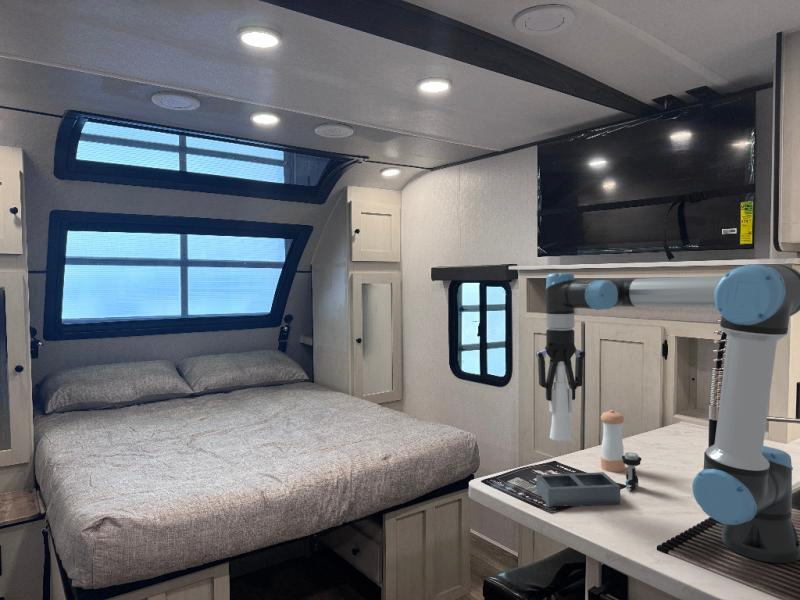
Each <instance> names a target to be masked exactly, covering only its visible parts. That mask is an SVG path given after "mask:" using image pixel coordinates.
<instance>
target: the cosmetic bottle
mask: <svg viewBox="0 0 800 600" xmlns="http://www.w3.org/2000/svg"><path fill="white" fill-rule="evenodd" d="M566 380H567V375H566V369H565V364H564V362H563V361H561V362H558V365H557V367H556V372H555V377H554V382H553V387H552V388H553V389H554V390H555V413H552V412H551V425H550V432H549V439H550V440H552V441H554V442H555V441H556V442H569V441H572V439H573V436H572V432H571V423H570V413H569V407H568V388H567V387H568V381H566Z"/></svg>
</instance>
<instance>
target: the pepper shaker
mask: <svg viewBox="0 0 800 600" xmlns="http://www.w3.org/2000/svg"><path fill="white" fill-rule="evenodd" d="M600 419H601V422H602V424H603V431H602V432H603V436H602V441H601V455H600V468H601V469H602V470H603V471H606V472H611V473H621V472H624V471H625V470H626V468H625V467H626V466H625V465H626V464H624V463H623V459H622V456H623V455H624V443H623V437H622V424H623V422H624V421H625V417H624V416H623V414H622V413H620V412H617V411H615V410H614V409H610V410H609V411H605V412H602V414H601V416H600Z"/></svg>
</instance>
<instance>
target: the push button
mask: <svg viewBox="0 0 800 600" xmlns="http://www.w3.org/2000/svg"><path fill="white" fill-rule="evenodd" d="M622 459H623V463H624V464H625V465H626V466H627V472H626V474H625V479H626V481H625V487H626V491H634V490H635V489H636V490H637V489H638V488H639V477H638V475H637V472H636V467H637V466H640V465H641V462H642V458H641V457H640V456H639V454H638V453H635V452H625V453H624V454H623V456H622Z"/></svg>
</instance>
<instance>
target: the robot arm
mask: <svg viewBox="0 0 800 600" xmlns="http://www.w3.org/2000/svg"><path fill="white" fill-rule="evenodd" d="M545 281H546V283H545V284H546V285H545V302H546V303H545V304H546V313H545V314H546V323H545V325H546V326H545V327H546V328H547V329H546V330H545V331H546V332H545V333H546V335H545V336H546V337H545V338H546V339H545V340H546V341H545V342H546V343H545V344H546V345H545V347H544V349H543V350H541V351H539V350H537V351H535V355H536V358H537V366H538V384H539V385H538V386H540V387H542V388H543V389H545V399H546V401H548V404H549V405H548V407H549V408H548V411H549V412H550V413H551V414H552V413H555V390H554V389H553V386H554V381H555V372H556V367H557V365H558V362H561V361H563V362H564V364H565V369H566V380H567V388H568V407H569V414H570V413H571V414H572V413H573V401H575V400H576V390H577V389H578V387H582V386H583V373H584V371H583V370H584V368H583V367H584V358H585V356H586V352H585V351H584V350H581V349H577V347H576V346H575V330H574V327H575V309H589V310H595V311H599V310H603V311H604V310H610V309H612V308H618V307H621V308H622V307H623V308H625V307H626V308H627V307H628V308H629V307H632V308H633V307H634V308H635V307H639V308H641V307H643V308H644V307H646V308H647V307H648V308H649V307H651V308H711V309H713V308H715V309H716V310H717V311H718V312H719V314H720V325H719V327H720V329H721V330H722V331H723V332H724V333H725V334H726V337H727V340H726V345H725V353H724V354H725V355H724V361H723V362H724V364H723V371H722V380H721V389H720V396H719V397H720V398H719V403H718V404H719V406H718V411H717V412H718V413H717V421H716V429H715V430H716V431H715V437H714V438H715V439H714V444H713V445H710V446H709V447H707V448H706V449H705V453H704V462H703V470H701V471H699V472H697V474H696V476H695V477H694V479H693V481H692V487H691V488H692V494H693V497H694V500H695V501H696V503H697V505H699V507H700V508H701V509H702V511H703V512H704V513H705V514H706V515H707V516H708V517H710V518H711V519H713V520H715V521H716V522H718V523H720V524H724V525H723V526H722V529H721V541H722V542H723V544H724V545H725V546H726V548H728V549H730V550H731V551H733V552H734V553H737V554H739V555H741V556H744V557H747V558H749V559H752V560H755V561H759V562H760V561H761V562H766V563H773V564H789V563H795V562H797V561H798V560H800V539H799V536H798V533H797V530H796V527H795V525H794V522H793V519H792V518H793V516H792V512H793V511H792V510H793V509H792V508H793V507H792V505H793V504H792V501H793V500H792V499H793V498H792V497H793V496H792V495H793V494H792V492H793V490H792V489H793V488H792V487H793V486H792V485H793V483H792V482H793V469H794V468H793V466H792V458H791V455H790V454H789V453H788V452H786V451H783V450H782V449H779V448H775V447H772V446H765V445H764V441H765V436H766V429H767V428H766V427H767V420H768V412H769V406H770V398H771V390H772V383H773V382H772V381H773V374H774V366H775V360H776V359H775V358H776V352H777V351H776V350H777V343H778V342H779V341H780V340H782V339H783V338H785V337H786V336H787V335H788V333H789V332H788V330H789V325H790V317H792V316H794V315H796V314H797V313H799V312H800V271H798V270H797V269H795V268H793V267H791V266H789V265H784V264H760V263H757V264H756V263H755V264H746V265H743V266H738V267H735V268H734V269H731V270H729V271H728V272H727V273H725V274H724V275H710V276H709V275H705V276H704V275H703V276H677V277H651V278H649V277H647V278H646V277H645V278H620V279H594V280H593V279H591V280H589V279H588V280H577V279H575V275H574V273H571V272H570V273H569V272H566V273H564V272H563V273H549V274H547V276H546V280H545ZM546 355H547V356H548V357H549V361H548V362H549V364H548V365H549V366H548V370H547V371H548V372H547V376H546V360H545V358H546V357H547V356H546ZM573 355H574V357H575V361H574V362H575V365H574V367H575V368H574V369H575V371H573V366H572V363H573V362H572V358H573Z"/></svg>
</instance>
